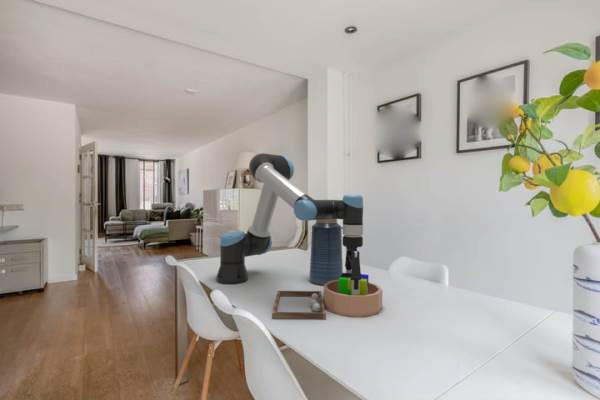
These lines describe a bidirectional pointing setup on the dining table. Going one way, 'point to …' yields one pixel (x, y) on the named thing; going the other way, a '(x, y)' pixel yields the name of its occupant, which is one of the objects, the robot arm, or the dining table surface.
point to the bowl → (352, 301)
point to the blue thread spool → (326, 252)
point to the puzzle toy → (346, 284)
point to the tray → (298, 314)
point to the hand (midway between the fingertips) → (352, 292)
